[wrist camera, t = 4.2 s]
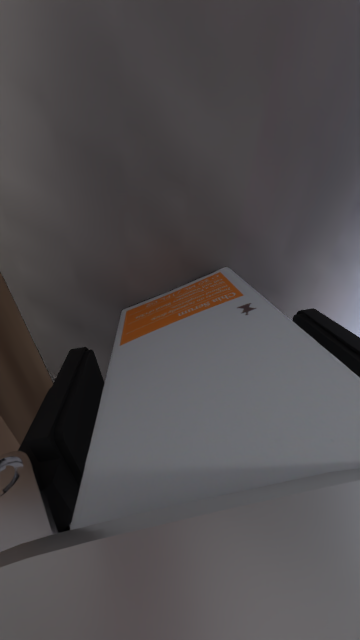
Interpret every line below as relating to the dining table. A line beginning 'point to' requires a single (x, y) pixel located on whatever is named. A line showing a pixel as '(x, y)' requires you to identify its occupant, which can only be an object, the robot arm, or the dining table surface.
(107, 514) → the skincare box
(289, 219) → the dining table surface
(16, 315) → the walnut base
